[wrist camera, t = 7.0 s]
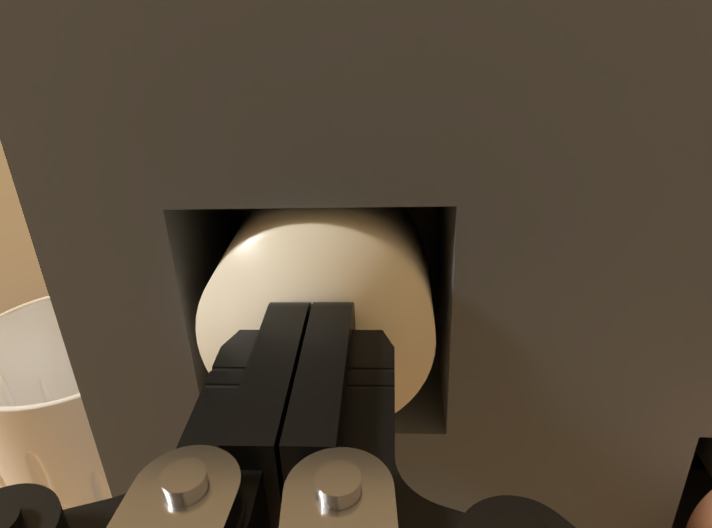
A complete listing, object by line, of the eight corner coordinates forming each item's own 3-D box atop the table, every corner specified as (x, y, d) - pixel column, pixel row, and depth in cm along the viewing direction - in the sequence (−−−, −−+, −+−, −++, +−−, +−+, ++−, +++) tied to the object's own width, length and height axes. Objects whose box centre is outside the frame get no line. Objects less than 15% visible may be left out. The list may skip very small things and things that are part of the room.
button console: (857, 785, 18) (1468, -65, 8) (192, 754, 19) (-46, -10, 9) (736, 569, 24) (983, -57, 14) (242, 556, 25) (135, -25, 15)
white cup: (212, 579, 24) (169, 383, 20) (1, 632, 23) (-100, 431, 18) (206, 444, 31) (173, 275, 26) (43, 477, 29) (-22, 303, 25)
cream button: (432, 435, 12) (439, 231, 10) (213, 432, 12) (176, 234, 10) (420, 285, 17) (423, 133, 15) (268, 286, 17) (251, 137, 15)
